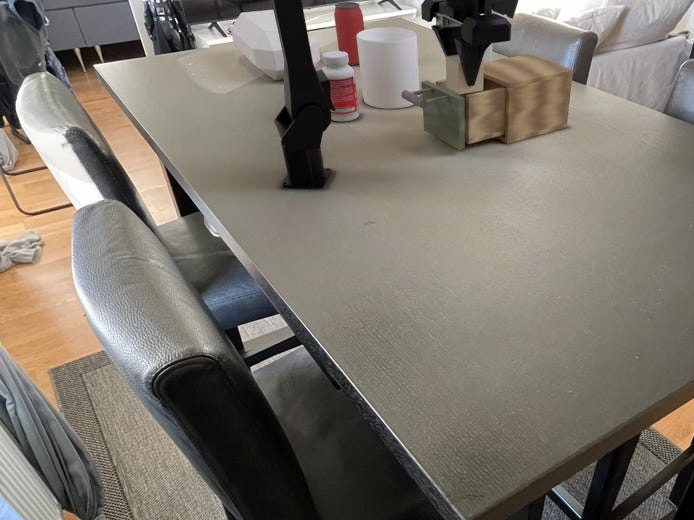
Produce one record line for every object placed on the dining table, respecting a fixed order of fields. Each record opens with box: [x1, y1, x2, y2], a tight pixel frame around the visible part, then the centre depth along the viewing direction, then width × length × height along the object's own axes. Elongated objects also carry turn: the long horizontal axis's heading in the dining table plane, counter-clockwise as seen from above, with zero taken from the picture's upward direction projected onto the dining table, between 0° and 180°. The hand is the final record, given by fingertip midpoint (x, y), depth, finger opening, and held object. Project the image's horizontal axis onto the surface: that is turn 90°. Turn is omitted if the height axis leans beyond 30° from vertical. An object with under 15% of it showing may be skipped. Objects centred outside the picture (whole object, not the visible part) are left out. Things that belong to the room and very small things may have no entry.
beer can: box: [333, 1, 365, 66], centre depth 138 cm, size 7×7×12 cm
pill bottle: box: [321, 50, 360, 122], centre depth 111 cm, size 6×6×11 cm
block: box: [445, 55, 483, 94], centre depth 92 cm, size 4×4×4 cm
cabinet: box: [483, 53, 574, 145], centre depth 109 cm, size 15×13×10 cm
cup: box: [356, 26, 421, 110], centre depth 118 cm, size 12×12×12 cm
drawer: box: [401, 77, 507, 151], centre depth 103 cm, size 19×11×8 cm, turn 126°
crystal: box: [230, 9, 321, 82], centre depth 135 cm, size 14×10×28 cm
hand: (464, 81), depth 93 cm, fingers closed on block, 4 cm apart
